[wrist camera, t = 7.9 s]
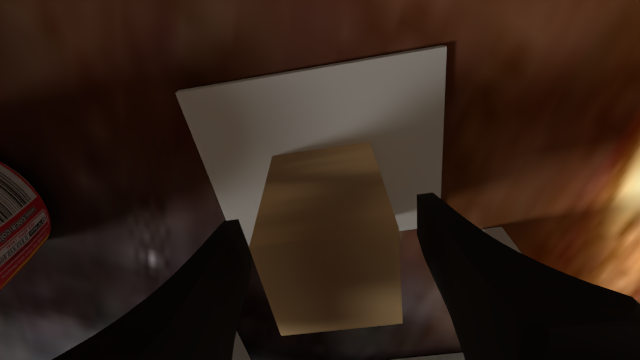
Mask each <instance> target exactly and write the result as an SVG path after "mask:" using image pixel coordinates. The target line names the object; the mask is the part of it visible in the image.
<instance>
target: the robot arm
mask: <svg viewBox="0 0 640 360" xmlns="http://www.w3.org/2000/svg"><path fill="white" fill-rule="evenodd" d="M417 236H418V239H419V243H420V246H421V249H422V252H423V255H424V258H425V260H426V262H427V265H428V267H429V269H430V271H431V274H432V276H433V278H434V280H435V282H436V284H437V287H438V289H439V291H440V293H441V295H442V298H443V300H444V302H445V304H446V306H447V309H448V311H449V314H450V316H451V319H452V322H453V325H454V328H455V331H456V334H457V337H458V340H459V342H460V346H461V349H462V352H463V355H464V358H465V360H640V304H639V303H638V302H637V301H636V300H635V299H634V298H633V297H631V296H628V295H625V294H622V293H619V292H616V291H613V290H610V289H607V288H604V287H601V286H598V285H594V284H591V283H589V282H586V281H583V280H581V279H578V278H576V277H573V276H571V275H568V274H565V273H563V272H561V271H558V270H556V269H553V268H551V267H549V266H547V265H544V264H542V263H540V262H538V261H536V260H534V259H532V258H530V257H528V256H526V255H524V254H522V253H520V252H518V251H516V250H514V249H512V248H511V247H509V246H507V245H505V244H503V243H502V242H500V241H498V240H497V239H495V238H493V237H492V236H490V235H489V234H487V233H486V232H484V231H482V230H481V229H479V228H478V227H477V226H475V225H474V224H472V223H471V222H470V221H468V220H467V219H466V218H464V217H463V216H462V215H460V214H459V213H458V212H456V211H455V210H454V209H453V208H451V207H450V206H449V205H448V204H446V203H445V202H444V201H443V200H442V199H440V198H439V197H438V196H437V195H435V194H434V193H433V192H431V193H424V194H417ZM251 261H252V255H251V252H250V249H249V246H248V243H247V241H246V238H245V235H244V233H243V230H242V227H241V225H240V222H239V219H235V220H228V221H224V222H223V223H222V224H221V225H220V226H219V227H218V228H217V229H216V230H215V231H214V232H213V233H212V235H211V236H210V237H209V238H208V239H207V240H206V241H205V242H204V243H203V245H202V246H201V247H200V248H199V249H198V250H197V251H196V252H195V253H194V254H193V255H192V257H191V258H190V259H189V260H188V261H187V262H186V263H185V264H184V265H183V266H182V267H181V268H180V269H179V270H178V271H177V272H176V273H175V274H174V275H173V276H171V277H170V278H169V279H168V280H167V281H166V282H165V283H164V284H163V285H162V286H160V287H159V288H158V289H157V290H156V291H154V292H153V293H152V294H151V295H150V296H148V297H147V298H146V299H145V300H143V301H142V302H141V303H139V304H138V305H137V306H135V307H134V308H133V309H131V310H130V311H129V312H127V313H126V314H125V315H123V316H122V317H121V318H119V319H118V320H116V321H115V322H113V323H112V324H110V325H109V326H107V327H106V328H104V329H103V330H101V331H100V332H98V333H97V334H95V335H93V336H92V337H90V338H89V339H87V340H85V341H84V342H82V343H80V344H78V345H77V346H75V347H73V348H71V349H70V350H68V351H66V352H65V353H63V354H61V355H59V356H58V357H56V358H54V359H52V360H232V356H233V349H234V342H235V337H236V332H237V327H238V323H239V319H240V315H241V311H242V307H243V303H244V299H245V295H246V291H247V287H248V283H249V279H250V271H251Z"/></svg>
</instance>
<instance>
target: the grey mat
mask: <svg viewBox="0 0 640 360" xmlns="http://www.w3.org/2000/svg"><path fill="white" fill-rule="evenodd" d="M446 55H447V46H445V45H440V46H434V47H428V48H422V49H416V50H411V51H405V52H399V53H393V54H387V55H381V56H376V57H370V58H364V59H358V60H352V61H346V62H341V63H335V64H329V65H323V66H317V67H311V68H306V69H300V70H294V71H288V72H282V73H277V74H271V75H265V76H259V77H253V78H247V79H242V80H236V81H230V82H224V83H218V84H212V85H207V86H201V87H195V88H189V89H183V90H178V91H177V92H176V93H175V94H176V96H177V99H178V101H179V104H180V106H181V109H182V111H183V114H184V116H185V119H186V121H187V124H188V126H189V129H190V131H191V134H192V136H193V139H194V141H195V144H196V146H197V149H198V151H199V154H200V156H201V159H202V161H203V164H204V166H205V169H206V171H207V174H208V176H209V179H210V181H211V184H212V186H213V189H214V191H215V194H216V196H217V199H218V201H219V204H220V206H221V209H222V211H223V213H224V216H225V218H226V221H228V220H235V219H239V222H240V225H241V227H242V230H243V233H244V235H245V238H246V241H247V243H248V246H249V245H250V241H251V237H252V233H253V229H254V225H255V221H256V217H257V214H258V210H259V206H260V202H261V198H262V194H263V190H264V186H265V182H266V178H267V174H268V171H269V167H270V163H271V159H272V156H277V155H283V154H290V153H297V152H304V151H311V150H318V149H325V148H332V147H339V146H346V145H353V144H359V143H366V142H370V144H371V147H372V150H373V153H374V156H375V159H376V162H377V165H378V168H379V170H380V173H381V176H382V179H383V182H384V185H385V188H386V191H387V194H388V197H389V200H390V203H391V206H392V209H393V212H394V215H395V218H396V221H397V224H398V227H399V231H403V230H411V229H417V194H424V193H431V192H433V193H434V194H435V195H437V196H438V197H439V198H440V199H441V179H442V155H443V130H444V105H445V80H446Z"/></svg>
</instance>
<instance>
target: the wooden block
mask: <svg viewBox="0 0 640 360" xmlns="http://www.w3.org/2000/svg"><path fill="white" fill-rule="evenodd" d="M249 249H250V252H251V255H252V258H253V260H254V263H255V266H256V269H257V271H258V274H259V277H260V279H261V282H262V285H263V288H264V290H265V293H266V296H267V299H268V301H269V304H270V307H271V310H272V312H273V315H274V318H275V321H276V323H277V326H278V329H279V331H280V334H281V336H285V335H295V334H305V333H314V332H324V331H334V330H343V329H353V328H363V327H372V326H382V325H392V324H401V323H402V296H401V267H400V238H399V227H398V224H397V221H396V218H395V215H394V212H393V209H392V206H391V203H390V200H389V197H388V194H387V191H386V188H385V185H384V182H383V179H382V176H381V173H380V170H379V168H378V165H377V162H376V159H375V156H374V153H373V150H372V147H371V144H370V142H366V143H359V144H353V145H346V146H339V147H332V148H325V149H318V150H311V151H304V152H297V153H290V154H283V155H277V156H272V159H271V163H270V167H269V171H268V174H267V178H266V182H265V186H264V190H263V194H262V198H261V202H260V206H259V210H258V214H257V217H256V221H255V225H254V229H253V233H252V237H251V241H250V245H249Z"/></svg>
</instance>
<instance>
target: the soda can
mask: <svg viewBox="0 0 640 360" xmlns="http://www.w3.org/2000/svg"><path fill="white" fill-rule="evenodd" d="M50 229H51V221H50V217H49V213H48V210H47V208H46V206H45V204H44V202H43V200H42V199H41V197H40V196H39V194H38V193H37V192H36V191H35V189H34V188H33V187H32V186H31V184H30V183H29V182H28V181H27V180H26V179H25V178H24V177H23V176H21V175H20V174H19V173H18V172H16V171H15V170H13V169H12V168H10V167H9V166H7V165H5V164H4V163H2V162H0V290H1V289H2V288H3V287H4V286H5V285H6V284H7V283H8V282H9V281H10V280H11V279H12V278H13V277H14V276H15V275H16V274H17V273H18V272H19V271H20V270H21V269H22V268H23V267H24V266H25V265H26V264H27V263H28V262H29V261H30V259H31V258H32V257H33V256H34V255H35V253H36V252H37V251H38V250H39V249H40V247H41V246H42V245H43V244H44V243H45V241H46V240H47V238H48V236H49V233H50Z"/></svg>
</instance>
